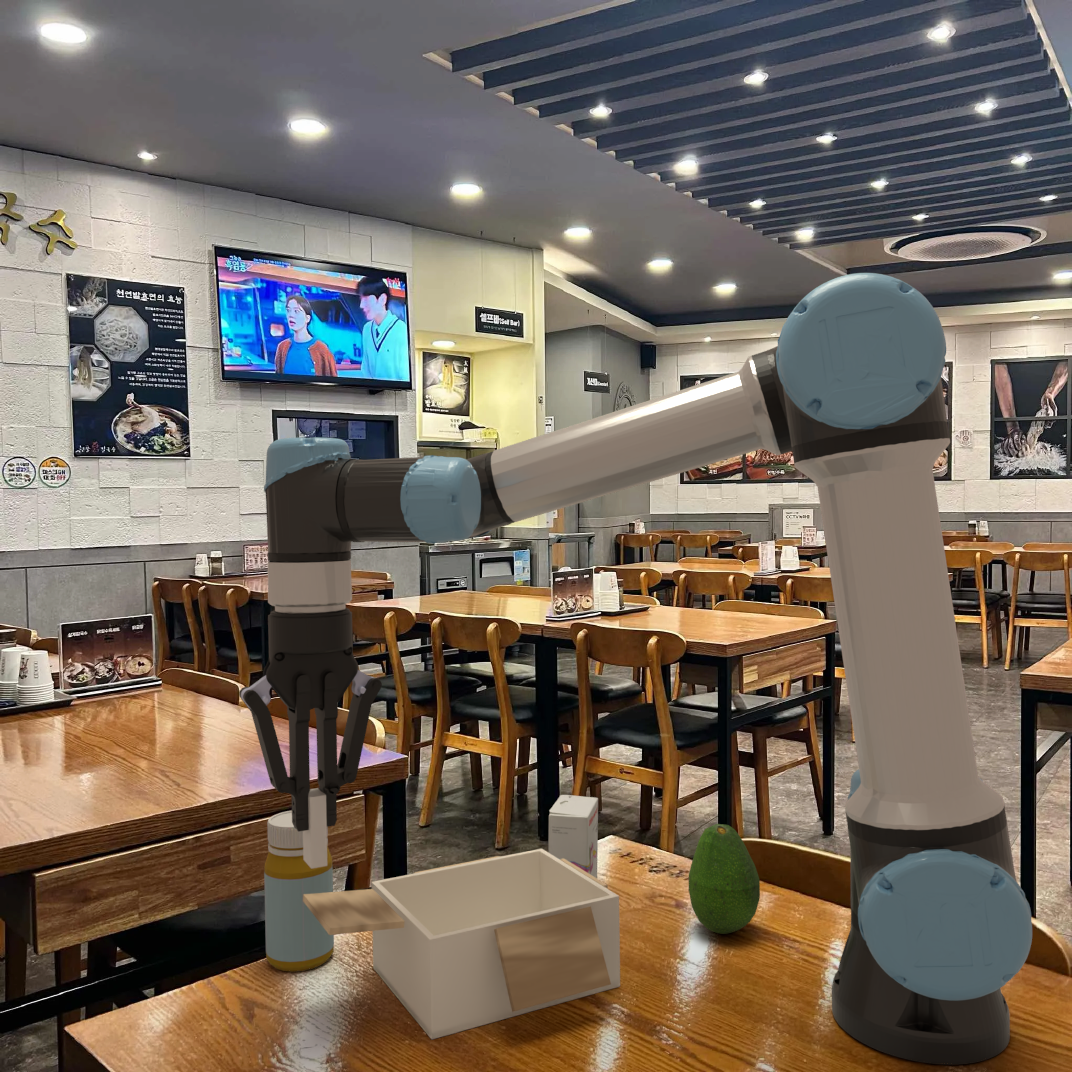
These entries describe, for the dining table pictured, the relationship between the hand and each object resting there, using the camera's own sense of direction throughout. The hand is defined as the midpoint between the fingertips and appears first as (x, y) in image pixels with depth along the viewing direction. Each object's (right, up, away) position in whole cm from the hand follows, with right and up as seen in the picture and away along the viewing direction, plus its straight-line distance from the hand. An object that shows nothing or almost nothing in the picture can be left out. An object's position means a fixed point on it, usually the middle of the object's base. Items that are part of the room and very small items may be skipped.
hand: (315, 862), depth 91 cm
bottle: (-5, -15, +14) cm, 21 cm away
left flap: (+6, -5, +3) cm, 9 cm away
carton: (+16, -15, +9) cm, 23 cm away
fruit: (+41, -14, +19) cm, 48 cm away
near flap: (+21, -5, +1) cm, 22 cm away
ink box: (+25, -14, +28) cm, 40 cm away
